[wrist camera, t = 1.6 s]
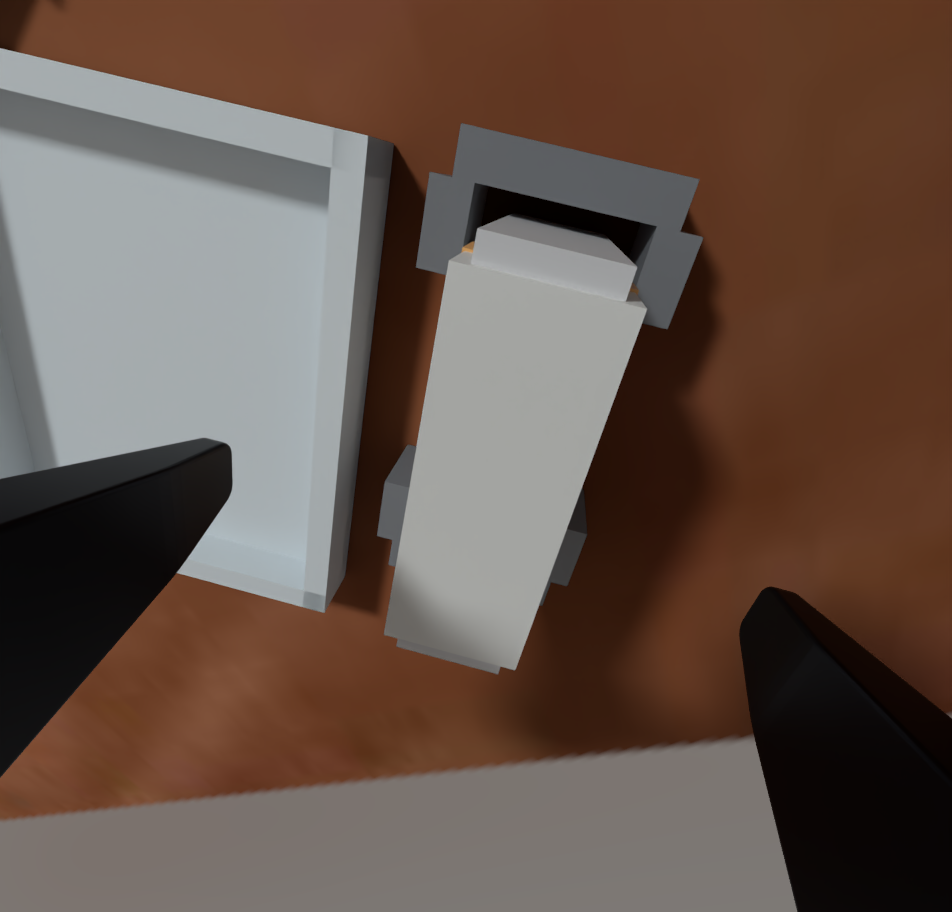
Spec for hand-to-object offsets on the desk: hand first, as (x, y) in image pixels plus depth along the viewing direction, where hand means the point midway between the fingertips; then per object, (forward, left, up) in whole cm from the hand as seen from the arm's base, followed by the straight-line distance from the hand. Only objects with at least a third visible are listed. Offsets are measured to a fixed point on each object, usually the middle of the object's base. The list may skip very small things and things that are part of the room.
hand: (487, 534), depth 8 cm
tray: (+11, +2, -8) cm, 14 cm away
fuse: (0, 0, -8) cm, 8 cm away
